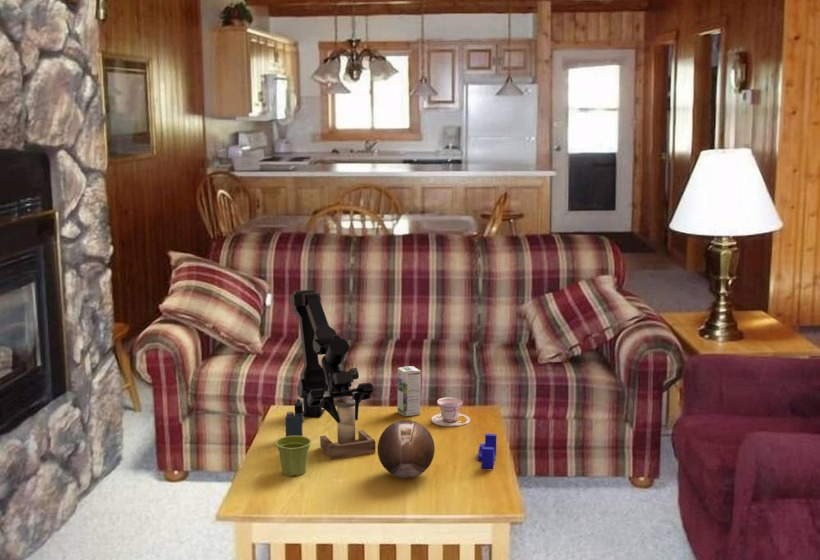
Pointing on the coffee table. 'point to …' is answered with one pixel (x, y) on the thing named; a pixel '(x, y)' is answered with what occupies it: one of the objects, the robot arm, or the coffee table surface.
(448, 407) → the teacup
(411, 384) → the syrup box
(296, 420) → the vaping device
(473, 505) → the coffee table surface
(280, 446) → the plant pot
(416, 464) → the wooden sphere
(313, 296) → the robot arm
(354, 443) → the cradle
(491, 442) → the blue stepped block
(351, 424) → the lidded tumbler
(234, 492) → the coffee table surface
